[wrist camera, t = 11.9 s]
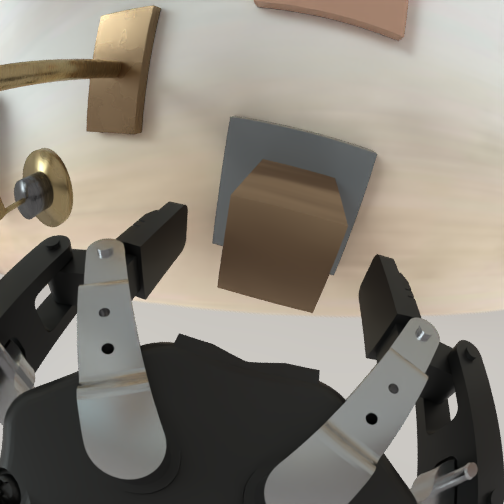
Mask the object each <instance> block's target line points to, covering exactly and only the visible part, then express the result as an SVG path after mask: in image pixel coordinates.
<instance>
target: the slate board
mask: <svg viewBox="0 0 504 504" xmlns="http://www.w3.org/2000/svg"><path fill="white" fill-rule="evenodd" d="M376 156H377V153H375V152H374V151H372V150H369V149H367V148H364V147H361V146H358V145H354V144H351V143H348V142H345V141H342V140H338V139H335V138H332V137H328V136H325V135H321V134H317V133H313V132H310V131H306V130H302V129H298V128H294V127H289V126H285V125H280V124H276V123H271V122H266V121H261V120H256V119H250V118H245V117H239V116H232V117H230V122H229V128H228V134H227V140H226V146H225V153H224V160H223V166H222V173H221V180H220V187H219V195H218V202H217V210H216V217H215V225H214V234H213V242H212V243H213V244H217V245H221V246H223V243H224V236H225V229H226V223H227V216H228V210H229V203H230V197H231V194H232V193H233V192H234V191H235V190H236V188H237V187H238V186H239V185H240V184H241V183H242V182H243V181H244V179H245V178H246V177H247V176H248V175H249V174H250V173H251V172H252V170H253V169H254V168H255V167H256V166H257V165H258V164H259V163H260V162H261V161H262V159H265V160H269V161H273V162H278V163H282V164H286V165H290V166H294V167H297V168H301V169H305V170H309V171H312V172H316V173H320V174H323V175H327V176H330V177H333V178H335V180H336V183H337V187H338V190H339V194H340V197H341V201H342V205H343V208H344V212H345V216H346V220H347V224H348V228H347V230H346V233H345V236H344V238H343V241H342V244H341V246H340V249H339V251H338V254H337V256H336V259H335V261H334V264H333V266H332V269H331V271H330V275H334V273H335V271H336V269H337V266H338V264H339V261H340V259H341V256H342V254H343V251H344V249H345V246H346V243H347V241H348V238H349V236H350V233H351V230H352V228H353V225H354V222H355V219H356V217H357V214H358V211H359V208H360V205H361V203H362V200H363V197H364V194H365V191H366V188H367V185H368V182H369V179H370V175H371V172H372V169H373V166H374V163H375V159H376Z"/></svg>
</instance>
